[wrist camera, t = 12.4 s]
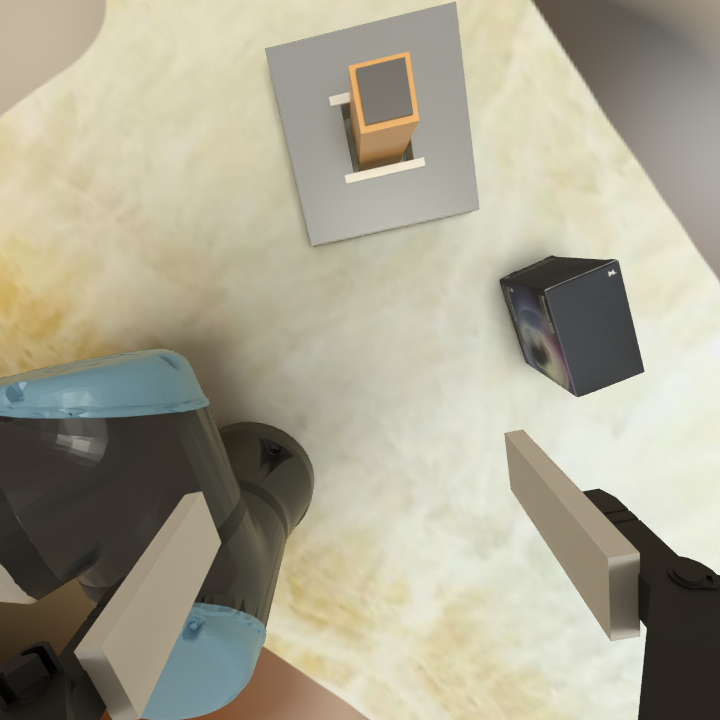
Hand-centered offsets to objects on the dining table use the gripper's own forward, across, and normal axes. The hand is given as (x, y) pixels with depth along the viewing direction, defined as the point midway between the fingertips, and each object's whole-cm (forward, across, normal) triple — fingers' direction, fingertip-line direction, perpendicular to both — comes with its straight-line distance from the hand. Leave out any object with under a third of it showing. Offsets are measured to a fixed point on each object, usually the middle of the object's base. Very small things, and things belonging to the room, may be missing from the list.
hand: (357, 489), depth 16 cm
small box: (+27, +20, -1) cm, 34 cm away
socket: (+27, +6, +19) cm, 33 cm away
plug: (+27, +6, +19) cm, 33 cm away
